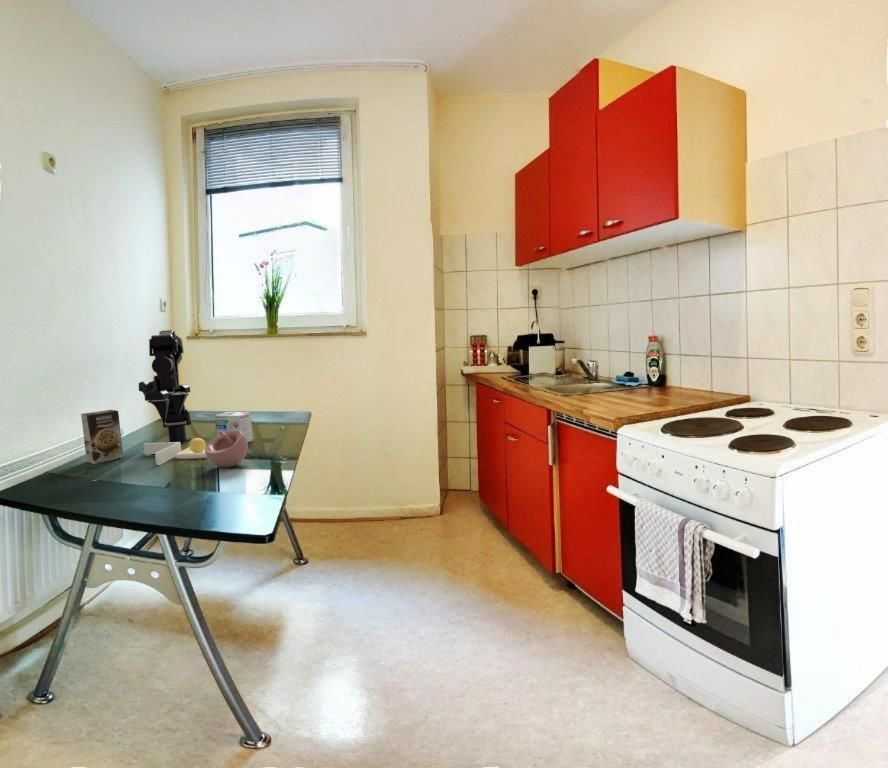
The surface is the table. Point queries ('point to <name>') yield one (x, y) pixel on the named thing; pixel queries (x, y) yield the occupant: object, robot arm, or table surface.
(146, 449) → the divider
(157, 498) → the table surface
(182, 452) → the tray
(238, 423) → the light bulb box
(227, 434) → the pink slanted bowl
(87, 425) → the brown upright rectangular box
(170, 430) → the robot arm
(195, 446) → the ball
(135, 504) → the table surface
